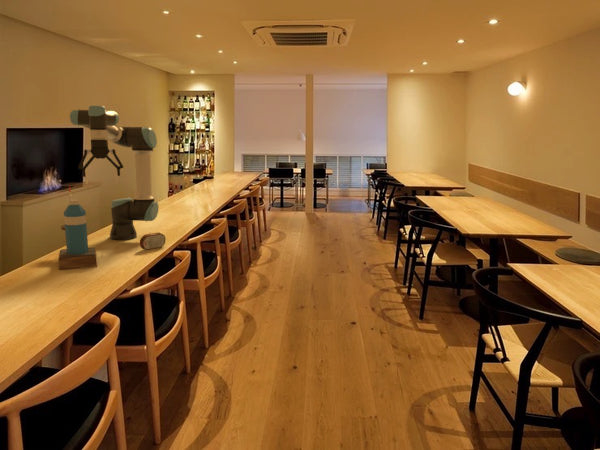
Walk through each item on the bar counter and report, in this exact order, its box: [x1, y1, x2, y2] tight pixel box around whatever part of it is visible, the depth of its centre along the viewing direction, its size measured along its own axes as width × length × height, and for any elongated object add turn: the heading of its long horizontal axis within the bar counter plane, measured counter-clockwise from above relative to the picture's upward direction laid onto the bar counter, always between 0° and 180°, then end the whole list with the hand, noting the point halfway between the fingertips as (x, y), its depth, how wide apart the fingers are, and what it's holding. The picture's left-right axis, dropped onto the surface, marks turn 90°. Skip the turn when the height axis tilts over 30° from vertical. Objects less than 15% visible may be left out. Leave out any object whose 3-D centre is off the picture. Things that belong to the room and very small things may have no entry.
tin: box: [139, 232, 166, 251], centre depth 265 cm, size 15×3×8 cm, turn 141°
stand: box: [57, 246, 98, 271], centre depth 233 cm, size 16×16×6 cm
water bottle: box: [63, 199, 89, 254], centre depth 230 cm, size 9×9×25 cm
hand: (102, 183), depth 237 cm, fingers open, 13 cm apart
